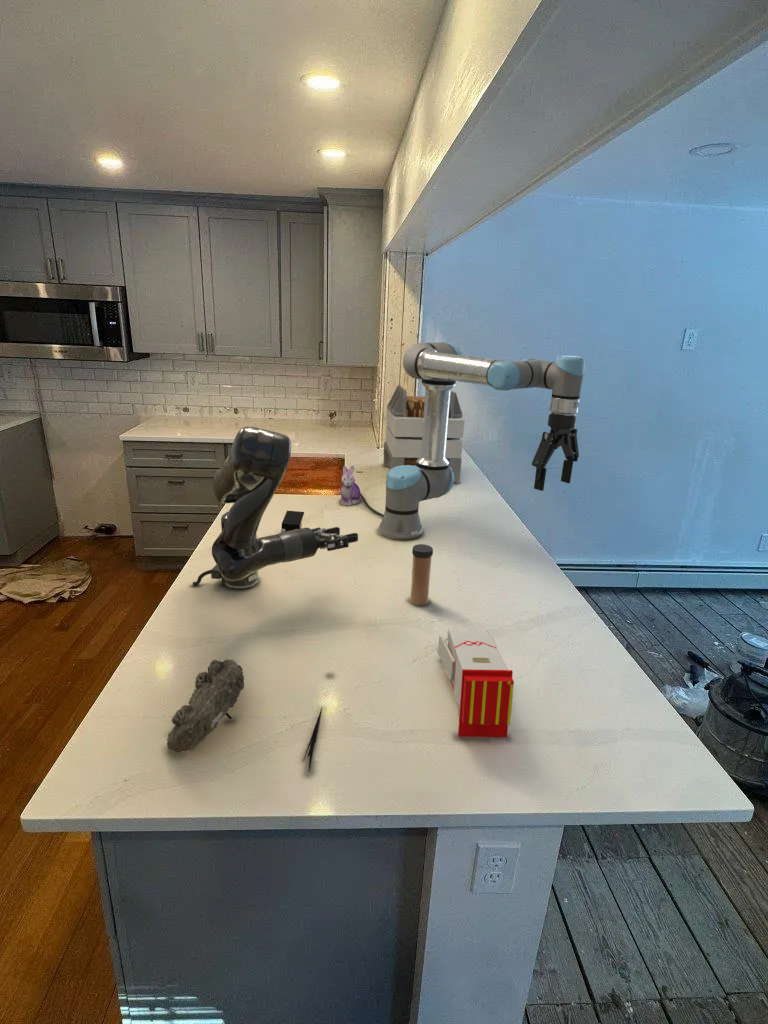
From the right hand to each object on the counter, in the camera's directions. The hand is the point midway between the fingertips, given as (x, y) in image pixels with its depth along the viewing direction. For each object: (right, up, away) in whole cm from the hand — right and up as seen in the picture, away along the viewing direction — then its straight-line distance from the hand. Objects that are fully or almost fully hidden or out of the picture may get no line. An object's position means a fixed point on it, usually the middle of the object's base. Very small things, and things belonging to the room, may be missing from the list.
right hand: (552, 485), depth 166 cm
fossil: (-82, -47, -57) cm, 110 cm away
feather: (-62, -47, -57) cm, 96 cm away
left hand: (-59, -13, -15) cm, 62 cm away
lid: (-39, -17, -16) cm, 46 cm away
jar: (-40, -32, -11) cm, 52 cm away
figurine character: (-80, -16, +27) cm, 86 cm away
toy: (-31, -45, -47) cm, 72 cm away
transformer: (-32, +11, +109) cm, 115 cm away
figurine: (-63, -4, +64) cm, 90 cm away
